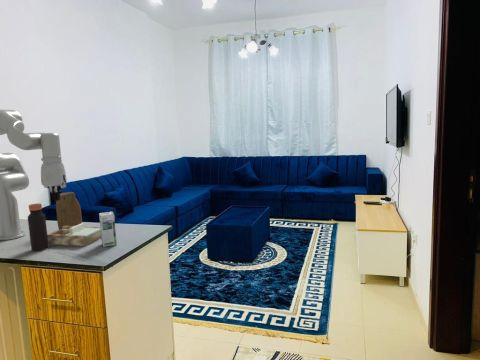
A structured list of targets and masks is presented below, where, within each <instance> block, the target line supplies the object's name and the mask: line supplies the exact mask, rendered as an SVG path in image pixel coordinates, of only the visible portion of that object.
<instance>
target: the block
mask: <svg viewBox="0 0 480 360" xmlns="http://www.w3.org/2000/svg"><path fill="white" fill-rule="evenodd" d="M81 209H82V208H81V205H80V202H79V201H78V199H77V198H76V194H75V192H73V191H68V192H67V191H66V192H61V193H60V200H58V201H55V211H56V222H57V223H56V224H57V229H58V230H60V229H62V226H76V225H79V224H81V223H83V217H82V210H81Z"/></svg>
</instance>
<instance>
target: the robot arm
mask: <svg viewBox="0 0 480 360" xmlns="http://www.w3.org/2000/svg"><path fill="white" fill-rule="evenodd" d="M24 130H25V123H24V122H23V117H22V115H21V113H19V112H18V111H17V110H14V109H0V136H1V135H2V136H3V135H6V136H7V139H8V141H9V143H10V144H11V145H14V146H15V147H16V148H18V149H20V150H23V151H34V150H35V151H36V150H41V154H42V155H41V156H42V158H41V159H40V160H41V162H42V163H41V166H40V182H41V183H40V184H41V185H42V186H43V188H45V189H47V190H49V192H50V193H51V197H52V199H51V200H52V201H53V202H56V201H58V200H60V194H61V193H60V192H61V190H63V189H65V188H66V187H67V173H66V168H65V166H64V163H63V160H62V152H61V140H60V135H59V134H58V133H57V132H24ZM29 185H30V178H29V175H28V173H27V172H26V170H25V168H24V166H23V164H22V161H21V159H20V158H19V157H18V156H17V155H16V154H14V153H12V152H0V241H9V240H13V239H14V240H15V239H18V238H21V237H23V236H25V235H26V232H25V231H23V230H22V229H21V227H22V226H21V220H20V219H21V218H20V213H19V203H18V200H17V198H16V197H15V195H14V194H13V192H18V191H19V192H20V191H23V190H26V189H27V188H28V187H29Z"/></svg>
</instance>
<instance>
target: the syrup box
mask: <svg viewBox="0 0 480 360" xmlns="http://www.w3.org/2000/svg"><path fill="white" fill-rule="evenodd" d="M98 217H99V227H100V229H101V238H100V239H101V244H102V246H103V247H104V248H105V247H110V246H116V245H117V243H118V242H117V233H116V232H117V231H116V222H115V213H114V212H113V211H109V212H108V211H107V212H100V213H98Z"/></svg>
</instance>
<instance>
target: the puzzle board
mask: <svg viewBox="0 0 480 360" xmlns="http://www.w3.org/2000/svg"><path fill="white" fill-rule="evenodd" d="M71 227H74V226H62V229H60V230H59V229H58V230H56V231H55V230H54V231H53V232H50V233H47V236H48V245H49V246H65V247H66V246H68V247H86V246H87V245H90V244H92V243H93V242H95V241H98V240H100V239H101V231H99V232H97V233H95V234H93V235H90V236H88V237H84V236H77V235H66V234H68V233H69V228H71ZM85 228H100V226H85Z"/></svg>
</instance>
